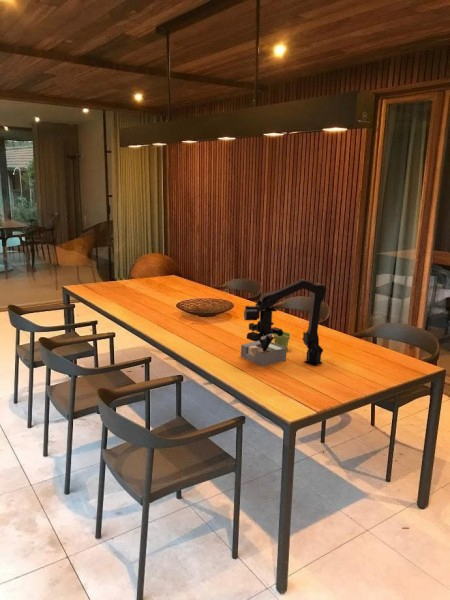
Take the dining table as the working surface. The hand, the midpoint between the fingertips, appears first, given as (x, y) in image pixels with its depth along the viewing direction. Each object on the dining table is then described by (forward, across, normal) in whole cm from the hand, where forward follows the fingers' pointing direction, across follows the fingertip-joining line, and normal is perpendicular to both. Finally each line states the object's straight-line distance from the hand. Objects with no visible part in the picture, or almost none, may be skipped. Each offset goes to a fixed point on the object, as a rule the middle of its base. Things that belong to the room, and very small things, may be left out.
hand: (264, 351), depth 231 cm
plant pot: (+7, -22, -11) cm, 26 cm away
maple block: (+4, 0, -5) cm, 6 cm away
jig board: (+7, -5, -6) cm, 10 cm away
